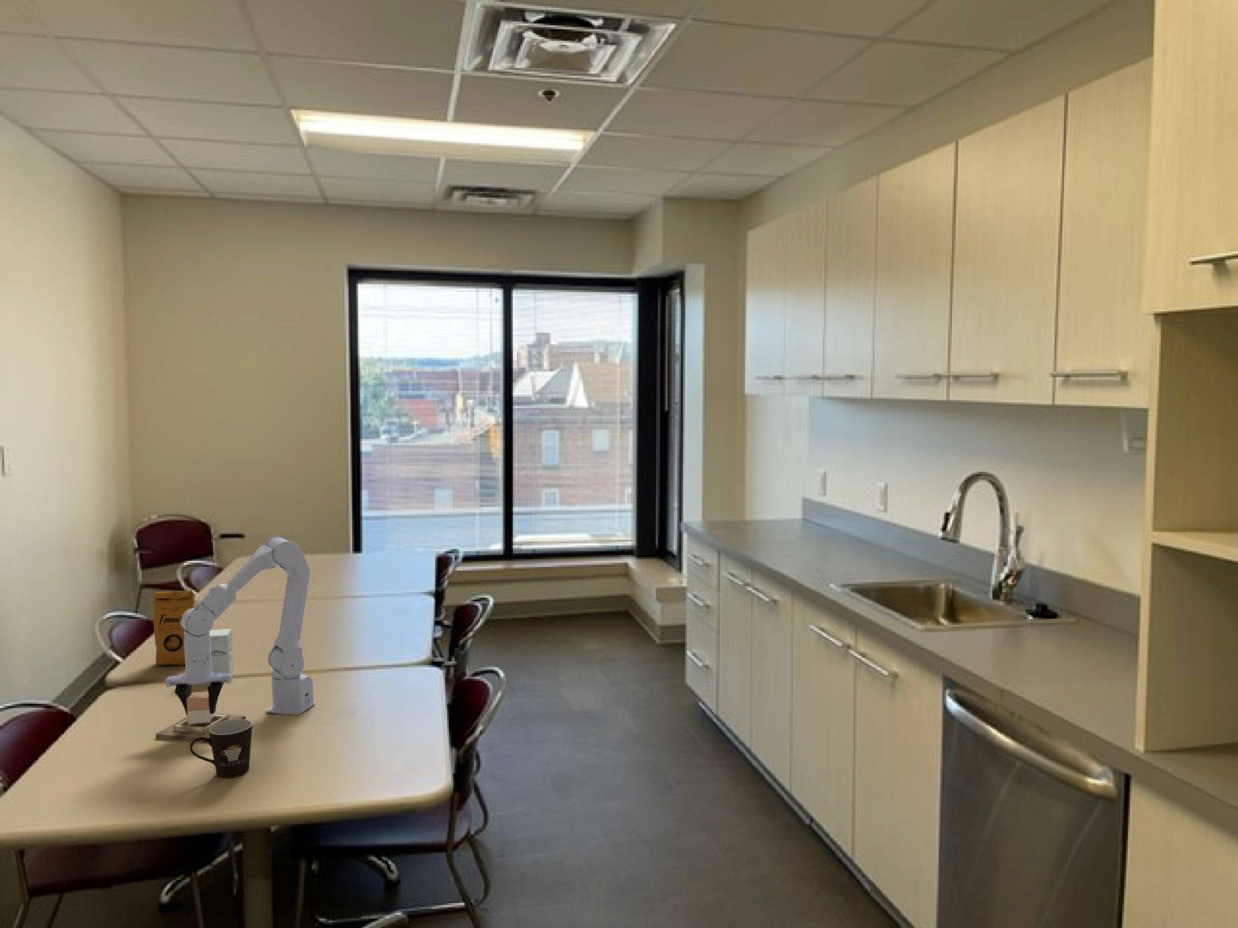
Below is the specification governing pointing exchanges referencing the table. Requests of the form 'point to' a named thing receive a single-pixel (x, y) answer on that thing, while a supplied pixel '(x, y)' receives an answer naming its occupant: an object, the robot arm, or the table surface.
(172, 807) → the table surface
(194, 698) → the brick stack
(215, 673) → the robot arm
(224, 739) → the coffee mug
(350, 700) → the table surface
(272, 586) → the table surface
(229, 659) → the supplement box
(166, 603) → the coffee package
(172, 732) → the walnut board
